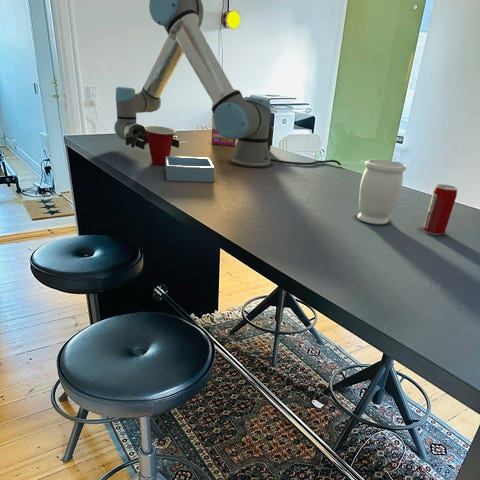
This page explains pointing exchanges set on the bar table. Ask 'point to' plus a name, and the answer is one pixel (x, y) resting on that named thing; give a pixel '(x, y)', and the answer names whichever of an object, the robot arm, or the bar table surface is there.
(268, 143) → the pen holder
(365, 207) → the jar
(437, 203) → the soda can
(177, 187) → the bar table surface
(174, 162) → the tray
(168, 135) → the plastic cup
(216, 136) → the candy bar box
